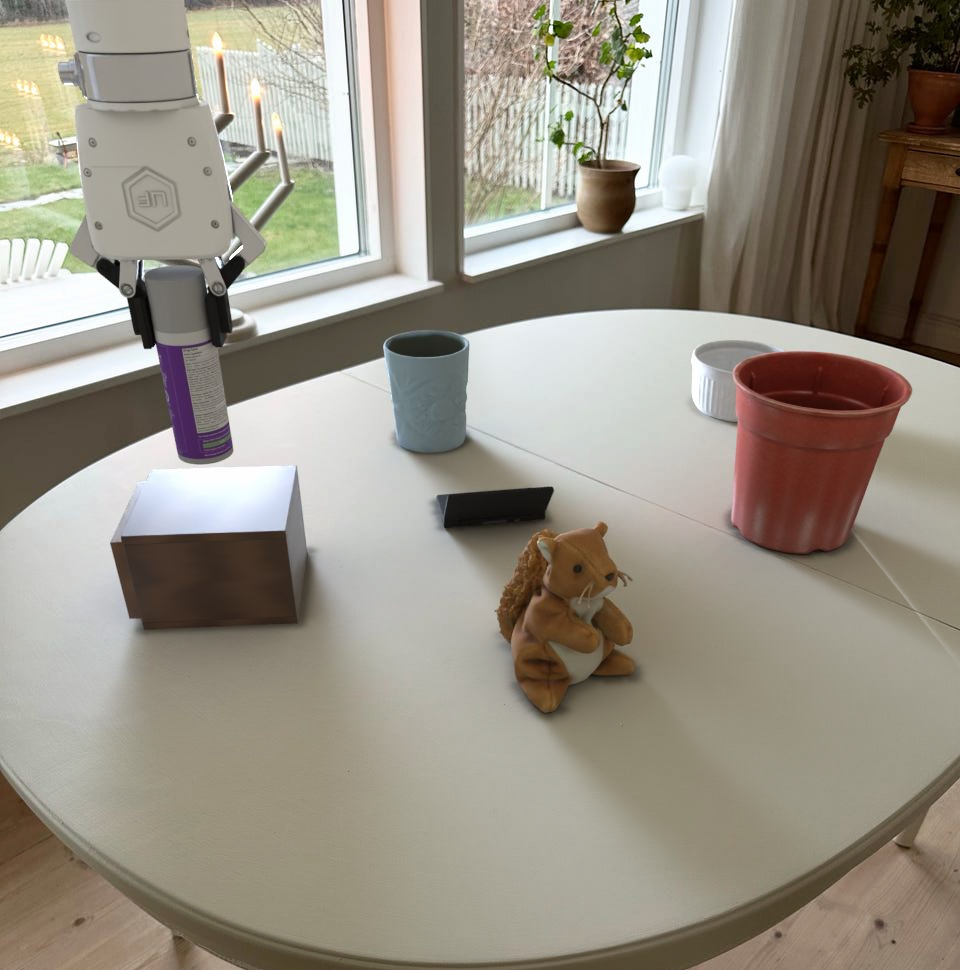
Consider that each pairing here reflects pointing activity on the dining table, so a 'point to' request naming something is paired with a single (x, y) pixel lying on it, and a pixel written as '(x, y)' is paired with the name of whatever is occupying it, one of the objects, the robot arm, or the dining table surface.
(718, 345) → the ramekin
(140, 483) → the drawer
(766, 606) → the dining table surface
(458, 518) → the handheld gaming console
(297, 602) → the cabinet
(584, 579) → the stuffed squirrel
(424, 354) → the light blue cup
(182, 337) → the container
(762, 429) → the flower pot
